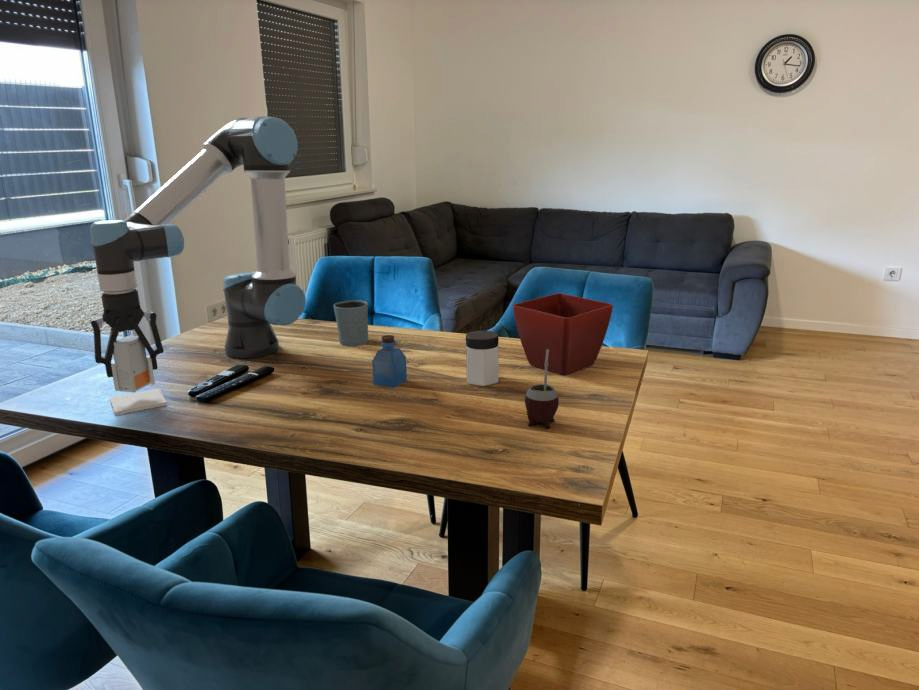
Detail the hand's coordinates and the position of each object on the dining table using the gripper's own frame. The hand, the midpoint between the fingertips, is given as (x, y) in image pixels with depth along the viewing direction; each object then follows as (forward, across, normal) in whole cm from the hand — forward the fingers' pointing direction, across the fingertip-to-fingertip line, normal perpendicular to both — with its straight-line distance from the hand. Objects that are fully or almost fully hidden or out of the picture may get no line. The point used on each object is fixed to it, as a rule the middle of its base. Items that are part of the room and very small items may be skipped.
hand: (135, 385), depth 158 cm
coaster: (+4, 0, 0) cm, 4 cm away
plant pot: (+4, -100, +35) cm, 106 cm away
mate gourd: (+4, -72, +62) cm, 95 cm away
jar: (+4, -76, +33) cm, 83 cm away
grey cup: (+4, -62, -17) cm, 65 cm away
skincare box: (+1, 0, 0) cm, 1 cm away
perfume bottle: (+4, -56, +21) cm, 60 cm away
